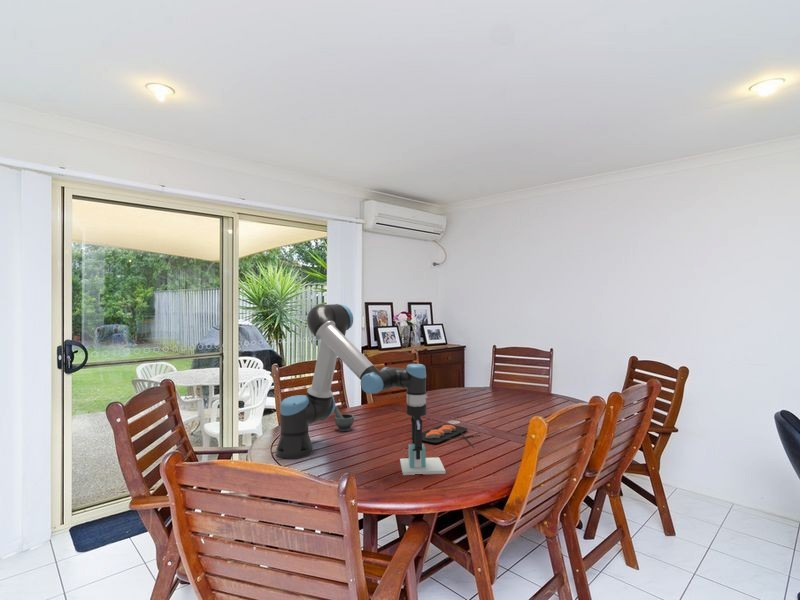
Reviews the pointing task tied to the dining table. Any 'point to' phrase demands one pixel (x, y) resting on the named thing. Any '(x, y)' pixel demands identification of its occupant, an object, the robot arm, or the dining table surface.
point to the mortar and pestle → (343, 420)
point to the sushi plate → (444, 433)
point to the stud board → (431, 467)
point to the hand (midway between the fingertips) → (416, 463)
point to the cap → (411, 455)
